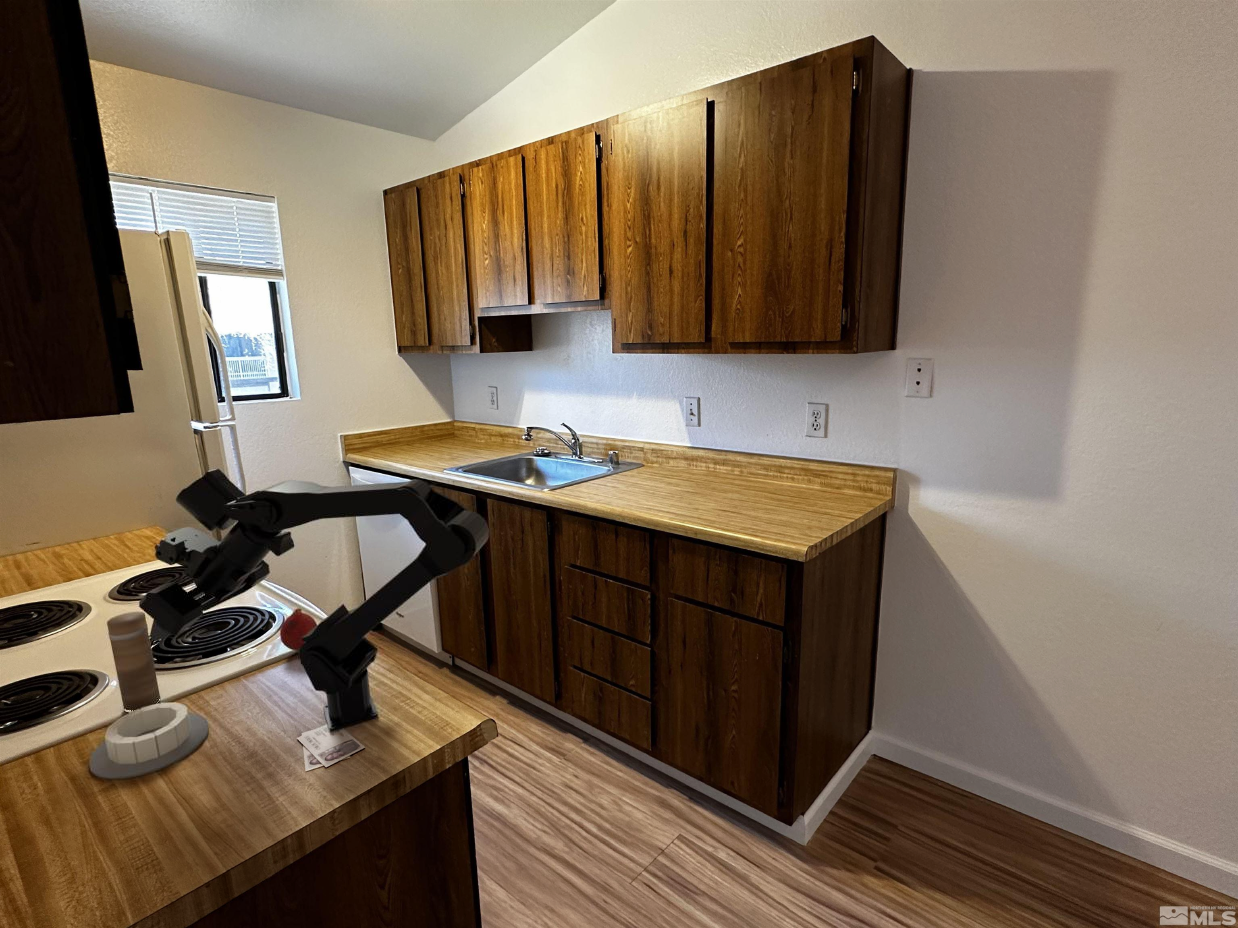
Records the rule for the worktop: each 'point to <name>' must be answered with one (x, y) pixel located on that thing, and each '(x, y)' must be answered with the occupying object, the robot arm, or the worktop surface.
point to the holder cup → (148, 741)
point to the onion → (296, 629)
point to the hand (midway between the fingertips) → (178, 622)
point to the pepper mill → (133, 660)
